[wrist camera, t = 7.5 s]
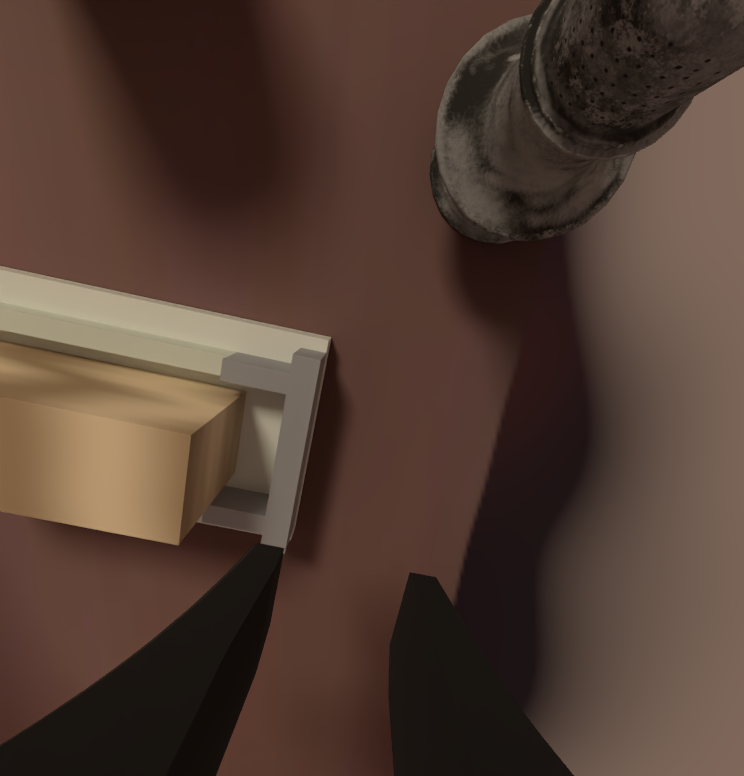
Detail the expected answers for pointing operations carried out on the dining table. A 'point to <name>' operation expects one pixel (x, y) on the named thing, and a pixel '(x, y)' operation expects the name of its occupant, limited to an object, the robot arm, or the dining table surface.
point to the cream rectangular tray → (194, 378)
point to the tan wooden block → (112, 443)
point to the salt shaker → (570, 108)
